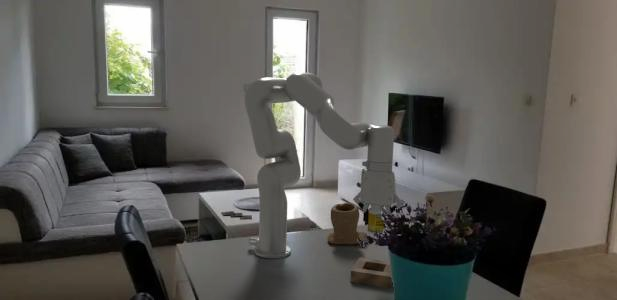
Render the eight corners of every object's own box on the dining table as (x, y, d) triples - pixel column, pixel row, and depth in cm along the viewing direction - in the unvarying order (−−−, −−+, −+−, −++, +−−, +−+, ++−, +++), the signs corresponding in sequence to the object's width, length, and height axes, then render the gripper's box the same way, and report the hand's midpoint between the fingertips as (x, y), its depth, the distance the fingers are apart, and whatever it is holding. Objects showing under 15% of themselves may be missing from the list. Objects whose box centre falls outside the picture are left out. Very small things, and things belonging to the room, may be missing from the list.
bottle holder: (350, 281, 151) (350, 270, 150) (358, 267, 162) (359, 257, 161) (390, 288, 147) (390, 276, 146) (395, 273, 158) (396, 262, 158)
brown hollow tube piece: (327, 248, 180) (329, 207, 177) (326, 237, 191) (328, 199, 189) (369, 249, 179) (372, 209, 177) (366, 238, 191) (368, 200, 189)
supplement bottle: (377, 228, 156) (378, 199, 155) (388, 233, 152) (390, 202, 150) (363, 231, 153) (365, 200, 152) (375, 236, 149) (376, 205, 147)
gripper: (348, 166, 148) (346, 225, 151) (406, 171, 143) (403, 232, 146) (354, 162, 155) (351, 218, 158) (410, 167, 150) (406, 225, 153)
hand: (376, 224), depth 152 cm, fingers closed on supplement bottle, 5 cm apart
